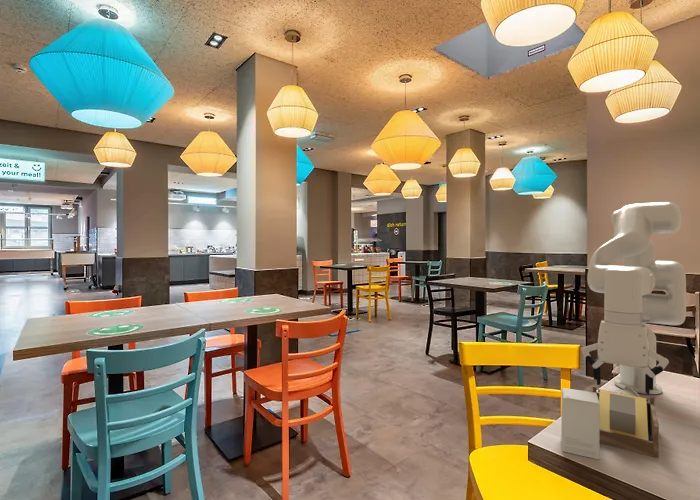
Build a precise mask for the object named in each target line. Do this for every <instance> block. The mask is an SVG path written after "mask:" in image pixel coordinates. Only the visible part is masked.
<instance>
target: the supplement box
mask: <svg viewBox="0 0 700 500" xmlns="http://www.w3.org/2000/svg"><path fill="white" fill-rule="evenodd" d="M599 409H600V403H599V400H598V396H597V393H594V392H593V391H586V390H581V389H574V388H567V387H566V388H565V387H562V388H561V424H560V425H561V427H560V428H561V434H560V435H561V436H560V437H561V439H560V440H561V450H562V452H565V453H569V454H573V455H576V456H582V457H585V458H590V459H594V460H599V459H600V443H599Z"/></svg>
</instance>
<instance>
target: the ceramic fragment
mask: <svg viewBox="0 0 700 500" xmlns="http://www.w3.org/2000/svg"><path fill="white" fill-rule="evenodd" d="M619 393H621V394H626V395H632V396H637V397H641V396H640V394H638V393H637V392H636V391H634V390H633V389H632V388H630V387H627V386H626V387H625V388H624V389H622V391H620V392H619Z"/></svg>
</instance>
